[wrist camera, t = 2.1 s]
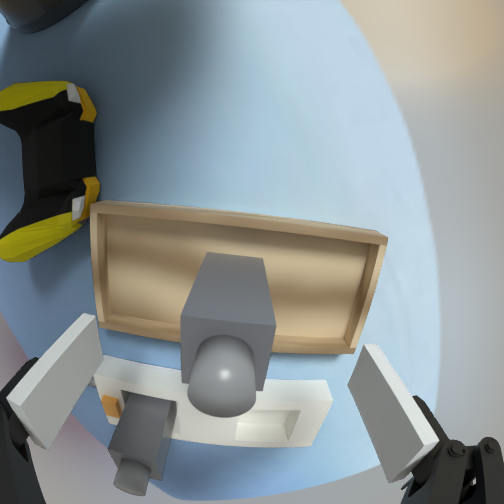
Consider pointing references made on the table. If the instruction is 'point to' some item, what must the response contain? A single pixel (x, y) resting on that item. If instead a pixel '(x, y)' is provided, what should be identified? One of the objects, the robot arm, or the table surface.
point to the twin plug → (142, 442)
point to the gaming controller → (50, 164)
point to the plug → (227, 334)
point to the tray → (235, 243)
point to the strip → (214, 428)
